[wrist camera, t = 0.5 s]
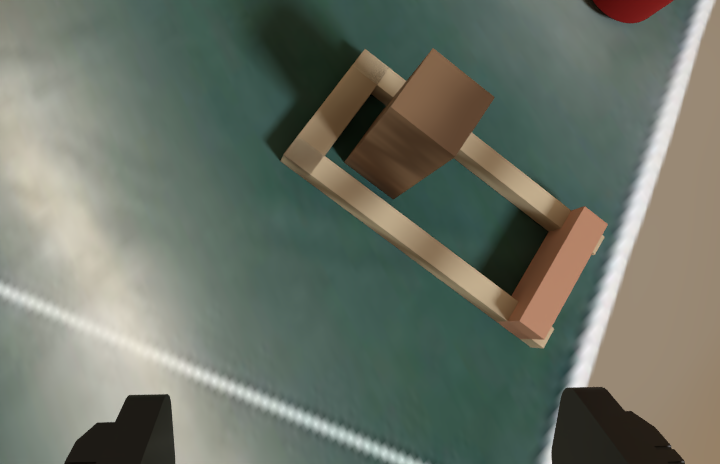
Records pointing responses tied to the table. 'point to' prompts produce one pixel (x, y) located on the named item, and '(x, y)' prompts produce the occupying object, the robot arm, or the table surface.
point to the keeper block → (420, 126)
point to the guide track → (515, 313)
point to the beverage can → (630, 9)
